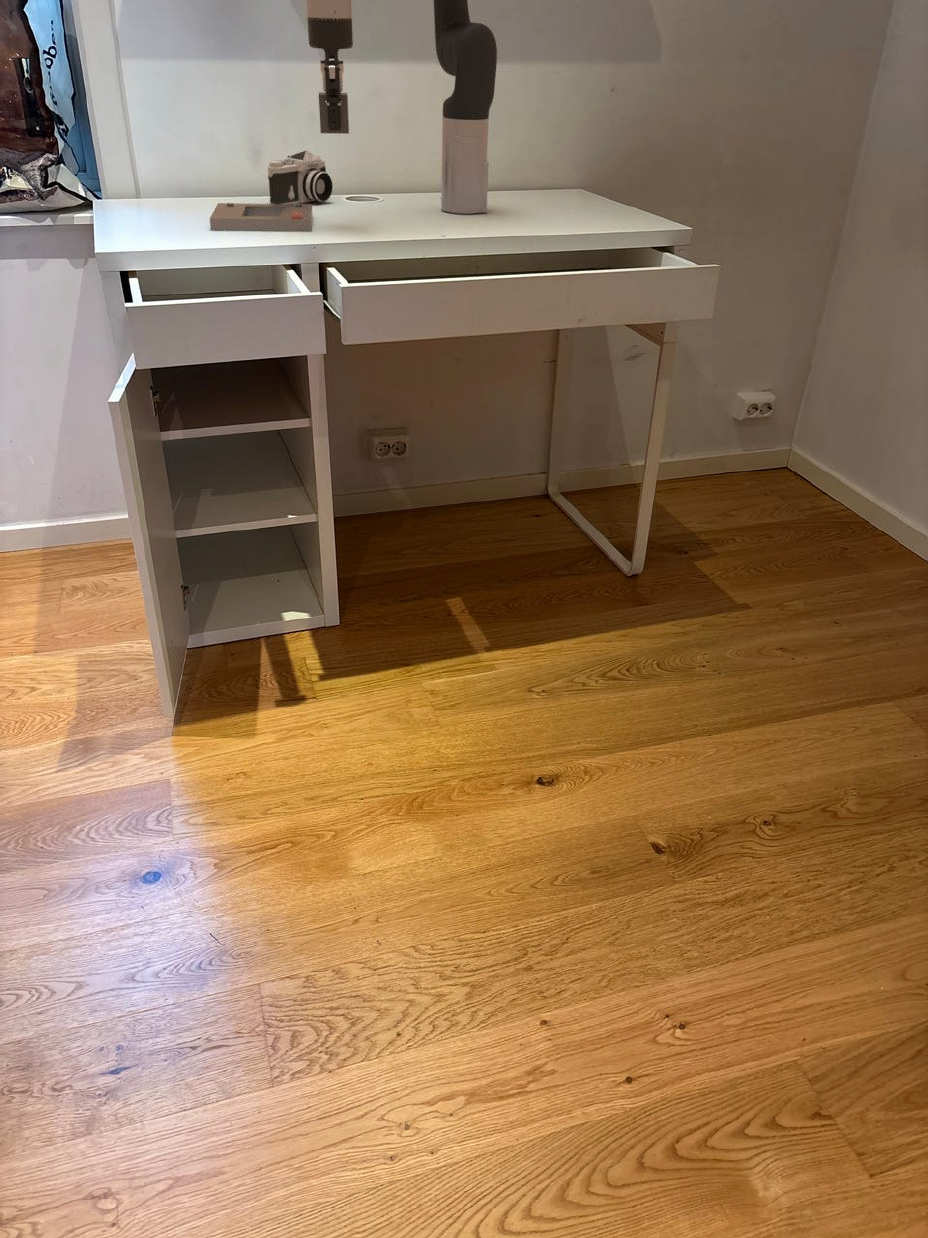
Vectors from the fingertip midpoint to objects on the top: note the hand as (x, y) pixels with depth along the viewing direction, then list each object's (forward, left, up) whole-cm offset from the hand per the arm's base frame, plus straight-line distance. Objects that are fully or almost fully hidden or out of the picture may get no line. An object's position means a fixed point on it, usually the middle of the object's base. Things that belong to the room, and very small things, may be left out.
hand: (334, 127), depth 168 cm
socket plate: (+14, -2, -17) cm, 22 cm away
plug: (0, 0, -1) cm, 1 cm away
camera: (+7, -26, -17) cm, 32 cm away
